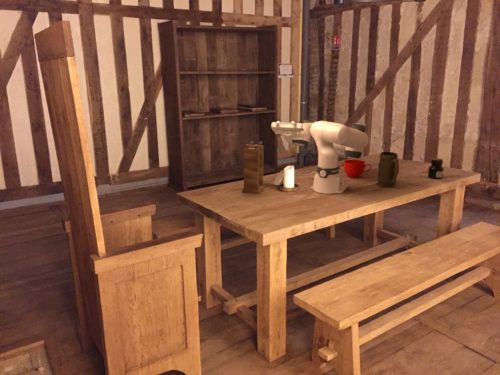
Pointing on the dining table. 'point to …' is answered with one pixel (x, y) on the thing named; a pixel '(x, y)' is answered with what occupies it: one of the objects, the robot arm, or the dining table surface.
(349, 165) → the ceramic cup
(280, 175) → the brushed square bar end
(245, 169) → the knife block
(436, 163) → the ink bottle
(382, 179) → the beer stein
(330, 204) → the dining table surface
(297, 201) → the dining table surface
